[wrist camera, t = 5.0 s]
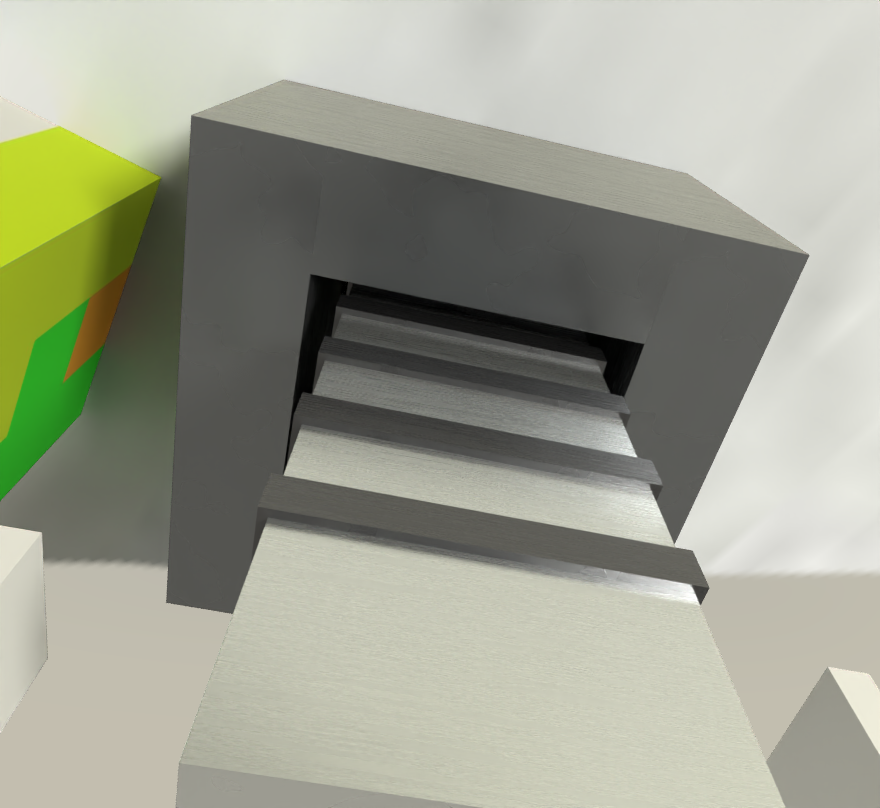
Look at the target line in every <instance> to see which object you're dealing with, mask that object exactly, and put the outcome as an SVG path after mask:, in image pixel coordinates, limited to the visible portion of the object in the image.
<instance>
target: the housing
mask: <svg viewBox="0 0 880 808" xmlns="http://www.w3.org/2000/svg"><path fill="white" fill-rule="evenodd" d="M808 257H809V254H807V253H806V252H804V251H803V250H801V249H800V248H798V247H797V246H795V245H794V244H792V243H791V242H789V241H788V240H786V239H785V238H783V237H782V236H780V235H779V234H777V233H776V232H774V231H773V230H771V229H770V228H768V227H767V226H765V225H764V224H762V223H761V222H759V221H758V220H756V219H755V218H753V217H752V216H750V215H749V214H747V213H746V212H744V211H743V210H741V209H740V208H738V207H737V206H735V205H734V204H732V203H731V202H729V201H728V200H726V199H725V198H723V197H722V196H720V195H719V194H717V193H716V192H714V191H713V190H711V189H710V188H708V187H707V186H705V185H704V184H702V183H701V182H699V181H698V180H696V179H695V178H693V177H692V176H690V175H689V174H687V173H682V172H678V171H674V170H670V169H665V168H661V167H657V166H652V165H648V164H644V163H639V162H635V161H631V160H627V159H622V158H618V157H614V156H609V155H605V154H601V153H597V152H592V151H588V150H584V149H579V148H575V147H571V146H566V145H562V144H558V143H554V142H549V141H545V140H541V139H536V138H532V137H528V136H524V135H519V134H515V133H511V132H506V131H502V130H498V129H494V128H489V127H485V126H481V125H476V124H472V123H468V122H463V121H459V120H455V119H451V118H446V117H442V116H438V115H433V114H429V113H425V112H421V111H416V110H412V109H408V108H403V107H399V106H395V105H390V104H386V103H382V102H378V101H373V100H369V99H365V98H360V97H356V96H352V95H348V94H343V93H339V92H335V91H330V90H326V89H322V88H317V87H313V86H309V85H305V84H300V83H296V82H292V81H287V80H282V81H279V82H277V83H274V84H272V85H269V86H266V87H264V88H261V89H259V90H256V91H253V92H251V93H248V94H246V95H243V96H240V97H238V98H235V99H233V100H230V101H227V102H225V103H222V104H220V105H217V106H214V107H212V108H209V109H207V110H204V111H201V112H199V113H196V114H194V115H191V134H190V154H189V173H188V192H187V212H186V231H185V251H184V270H183V289H182V309H181V328H180V348H179V367H178V386H177V406H176V425H175V445H174V464H173V483H172V503H171V522H170V541H169V561H168V580H167V600H166V601H167V603H171V604H177V605H184V606H189V607H196V608H201V609H208V610H214V611H219V612H225V613H231V614H233V613H234V610H235V607H236V604H237V602H238V599H239V596H240V593H241V591H242V588H243V585H244V582H245V580H246V577H247V574H248V571H249V569H250V566H251V559H252V551H253V542H254V534H255V526H256V518H257V509H258V505H259V502H260V500H261V497H262V495H263V492H264V490H265V487H266V484H267V482H268V479H269V477H270V474H271V473H274V474H279V475H284V472H285V469H286V467H287V460H288V453H289V446H290V439H291V431H292V424H293V417H294V413H295V411H296V408H297V405H298V403H299V400H300V398H301V395H302V393H303V392H304V393H309V394H312V392H313V385H314V378H315V372H316V365H317V358H318V352H319V349H320V347H321V344H322V342H323V339H324V337H325V336H328V337H332V331H333V325H334V318H335V312H336V306H337V303H338V301H339V298H340V293H341V286H342V281H346V282H351V283H356V284H361V285H365V286H370V287H375V288H380V289H384V290H389V291H394V292H399V293H404V294H408V295H413V296H418V297H423V298H427V299H432V300H437V301H442V302H446V303H451V304H456V305H461V306H466V307H470V308H475V309H480V310H485V311H489V312H494V313H499V314H504V315H508V316H513V317H518V318H523V319H527V320H532V321H537V322H542V323H547V324H551V325H556V326H561V327H566V328H570V329H575V330H580V331H585V335H586V337H587V340H588V342H589V344H590V346H593V347H598V348H601V350H602V352H603V354H604V356H605V358H606V361H607V364H606V367H605V370H604V372H603V377H604V380H605V382H606V385H607V387H608V389H609V392H610V394H614V395H619V396H623V398H624V400H625V403H626V405H627V407H628V409H629V411H630V414H631V416H630V418H629V421H628V423H627V426H626V432H627V434H628V436H629V439H630V441H631V444H632V446H633V448H634V451H635V453H636V455H637V458H642V459H647V460H652V462H653V464H654V467H655V469H656V471H657V473H658V475H659V478H660V480H661V482H662V484H663V487H662V490H661V492H660V494H659V497H658V499H657V501H656V503H657V505H658V507H659V510H660V512H661V514H662V517H663V519H664V521H665V524H666V526H667V529H668V531H669V533H670V536H671V538H672V540H673V543H674V544H675V542H676V540H677V538H678V536H679V534H680V531H681V529H682V527H683V525H684V523H685V521H686V519H687V516H688V514H689V512H690V510H691V508H692V506H693V504H694V501H695V499H696V497H697V495H698V493H699V491H700V489H701V486H702V484H703V482H704V480H705V478H706V476H707V474H708V471H709V469H710V467H711V465H712V463H713V461H714V459H715V456H716V454H717V452H718V450H719V448H720V446H721V444H722V441H723V439H724V437H725V435H726V433H727V431H728V429H729V426H730V424H731V422H732V420H733V418H734V416H735V414H736V411H737V409H738V407H739V405H740V403H741V401H742V399H743V397H744V394H745V392H746V390H747V388H748V386H749V384H750V382H751V379H752V377H753V375H754V373H755V371H756V369H757V367H758V364H759V362H760V360H761V358H762V356H763V354H764V352H765V349H766V347H767V345H768V343H769V341H770V339H771V337H772V334H773V332H774V330H775V328H776V326H777V324H778V322H779V319H780V317H781V315H782V313H783V311H784V309H785V307H786V304H787V302H788V300H789V298H790V296H791V294H792V292H793V289H794V287H795V285H796V283H797V281H798V279H799V277H800V274H801V272H802V270H803V268H804V266H805V264H806V262H807V259H808Z"/></svg>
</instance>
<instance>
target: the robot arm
mask: <svg viewBox="0 0 880 808" xmlns="http://www.w3.org/2000/svg"><path fill="white" fill-rule="evenodd" d="M47 652H48V651H47V629H46V608H45V589H44V566H43V545H42V532H36V531H31V530H25V529H19V528H13V527H7V526H1V525H0V733H1V731H2V730H3V728H4V727H5V725H6V724H7V722H8V720H9V719H10V717H11V716H12V714H13V712H14V711H15V709H16V708H17V706H18V705H19V703H20V701H21V700H22V698H23V697H24V695H25V693H26V692H27V690H28V688H29V687H30V685H31V684H32V682H33V681H34V679H35V678H36V676H37V674H38V673H39V671H40V670H41V668H42V666H43V665H44V663H45V662H46V660H47V658H48V653H47ZM766 762H767V765H768V767H769V769H770V772H771V774H772V777H773V779H774V781H775V784H776V786H777V788H778V791H779V793H780V795H781V798H782V800H783V803H784V805H785V807H786V808H880V690H879V689H878V687H877V686H876V684H875V682H874V681H873V679H872V678H871V676H870V675H869V674H866V673H861V672H855V671H849V670H843V669H837V668H831V667H827V669H826V670H825V672H824V673H823V675H822V676H821V678H820V680H819V681H818V683H817V684H816V686H815V687H814V689H813V691H812V692H811V693H810V695H809V697H808V698H807V700H806V701H805V703H804V704H803V706H802V707H801V709H800V710H799V712H798V713H797V715H796V717H795V718H794V720H793V721H792V723H791V724H790V726H789V727H788V729H787V730H786V732H785V733H784V735H783V737H782V738H781V740H780V741H779V743H778V744H777V746H776V747H775V749H774V750H773V752H772V753H771V755H770V757H769V758H768V760H767V761H766Z"/></svg>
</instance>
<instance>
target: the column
mask: <svg viewBox="0 0 880 808" xmlns="http://www.w3.org/2000/svg"><path fill="white" fill-rule="evenodd" d="M606 364H607V361H606V358H605V356H604V354H603V352H602V350H601V348H598V347H593V346H590V344H589V342H588V340H587V337H586V335H585V331H580V330H575V329H570V328H566V327H561V326H556V325H551V324H547V323H542V322H537V321H532V320H527V319H523V318H518V317H513V316H508V315H504V314H499V313H494V312H489V311H485V310H480V309H475V308H470V307H466V306H461V305H456V304H451V303H446V302H442V301H437V300H432V299H427V298H423V297H418V296H413V295H408V294H404V293H399V292H394V291H389V290H384V289H380V288H375V287H370V286H365V285H361V284H356V283H351V282H348V287H347V293H346V295H343V294H341V296H340V298H339V301H338V303H337V306H336V312H335V318H334V325H333V331H332V337H328V336H325V337H324V339H323V342H322V344H321V347H320V349H319V352H318V358H317V365H316V372H315V378H314V385H313V392H312V394H309V393H304V392H303V393H302V395H301V398H300V400H299V403H298V405H297V408H296V411H295V413H294V417H293V424H292V431H291V439H290V446H289V453H288V460H287V467H286V469H285V472H284V475H279V474H274V473H271V474H270V477H269V479H268V482H267V484H266V487H265V490H264V492H263V495H262V497H261V500H260V502H259V505H258V509H257V518H256V526H255V534H254V542H253V551H252V559H251V566H250V569H249V571H248V574H247V577H246V580H245V582H244V585H243V588H242V591H241V593H240V596H239V599H238V602H237V604H236V607H235V610H234V613H233V616H232V618H231V621H230V624H229V626H228V629H227V632H226V635H225V638H224V640H223V643H222V646H221V648H220V651H219V655H218V657H217V660H216V662H215V665H214V668H213V670H212V673H211V676H210V679H209V681H208V684H207V687H206V690H205V693H204V695H203V698H202V701H201V704H200V706H199V709H198V712H197V715H196V717H195V720H194V723H193V726H192V729H191V731H190V734H189V737H188V739H187V742H186V745H185V748H184V750H183V753H182V756H181V759H180V761H179V769H178V783H177V797H176V808H786V807H785V805H784V803H783V800H782V798H781V795H780V793H779V791H778V788H777V786H776V784H775V781H774V779H773V777H772V774H771V772H770V769H769V767H768V765H767V762H766V760H765V758H764V755H763V753H762V751H761V748H760V746H759V743H758V741H757V739H756V736H755V734H754V732H753V730H752V727H751V725H750V722H749V720H748V718H747V715H746V713H745V710H744V708H743V706H742V704H741V701H740V699H739V696H738V694H737V692H736V689H735V687H734V685H733V682H732V680H731V677H730V675H729V673H728V670H727V668H726V666H725V663H724V661H723V658H722V656H721V654H720V651H719V649H718V647H717V644H716V642H715V640H714V637H713V635H712V633H711V630H710V628H709V626H708V623H707V621H706V618H705V616H704V614H703V611H702V609H701V607H700V605H701V603H702V601H703V599H704V598H705V595H706V594H707V592H708V590H709V586H708V584H707V581H706V579H705V577H704V575H703V573H702V570H701V568H700V566H699V564H698V562H697V559H696V557H695V555H694V553H693V551H691V550H686V549H681V548H676V547H675V545H674V543H673V540H672V538H671V536H670V533H669V531H668V529H667V526H666V524H665V521H664V519H663V517H662V514H661V512H660V510H659V507H658V505H657V503H656V501H657V499H658V497H659V494H660V492H661V490H662V487H663V484H662V482H661V480H660V478H659V475H658V473H657V471H656V469H655V467H654V464H653V462H652V460H647V459H642V458H637V455H636V453H635V451H634V448H633V446H632V444H631V441H630V439H629V436H628V434H627V432H626V426H627V423H628V421H629V418H630V416H631V414H630V411H629V409H628V407H627V405H626V403H625V400H624V398H623V396H619V395H614V394H610V392H609V389H608V387H607V385H606V382H605V380H604V377H603V372H604V370H605V367H606Z"/></svg>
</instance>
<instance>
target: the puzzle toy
mask: <svg viewBox="0 0 880 808" xmlns="http://www.w3.org/2000/svg"><path fill="white" fill-rule="evenodd" d="M160 180H161V177H159V176H157V175H155V174H153V173H151V172H149V171H147V170H145V169H143V168H141V167H139V166H138V165H136V164H134V163H132V162H130V161H128V160H126V159H124V158H122V157H120V156H118V155H116V154H114V153H112V152H110V151H108V150H106V149H104V148H102V147H100V146H98V145H96V144H94V143H92V142H90V141H88V140H86V139H84V138H82V137H80V136H78V135H76V134H74V133H72V132H70V131H68V130H66V129H64V128H62V127H60V126H58V125H56V124H54V123H52V122H50V121H48V120H46V119H44V118H42V117H40V116H38V115H36V114H34V113H32V112H30V111H28V110H26V109H24V108H22V107H20V106H19V105H17V104H15V103H13V102H11V101H9V100H7V99H5V98H3V97H1V96H0V501H1V500H2V498H3V497H4V496H5V495H6V494H7V493H8V492H9V491H10V490H11V489H12V488H13V487H14V486H15V484H16V483H17V482H18V481H19V480H20V479H21V478H22V477H23V476H24V475H25V474H26V473H27V472H28V470H29V469H30V468H31V467H32V466H33V465H34V464H35V463H36V462H37V461H38V460H39V459H40V458H41V456H42V455H43V454H44V453H45V452H46V451H47V450H48V449H49V448H50V447H51V446H52V445H53V443H54V442H55V441H56V440H57V439H58V438H59V437H60V436H61V435H62V434H63V433H64V432H65V431H66V429H67V428H68V427H69V426H70V425H71V424H72V423H73V422H74V421H75V420H76V419H77V418H78V417H79V415H80V414H81V412H82V409H83V406H84V403H85V400H86V397H87V394H88V391H89V388H90V385H91V382H92V379H93V376H94V373H95V371H96V368H97V365H98V362H99V359H100V356H101V353H102V350H103V347H104V344H105V341H106V338H107V335H108V332H109V330H110V327H111V324H112V321H113V318H114V315H115V312H116V309H117V306H118V303H119V300H120V297H121V294H122V291H123V288H124V286H125V283H126V280H127V277H128V274H129V271H130V268H131V265H132V262H133V259H134V256H135V253H136V250H137V247H138V244H139V242H140V239H141V236H142V233H143V230H144V227H145V224H146V221H147V218H148V215H149V212H150V209H151V206H152V203H153V200H154V198H155V195H156V192H157V189H158V186H159V183H160Z"/></svg>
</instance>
